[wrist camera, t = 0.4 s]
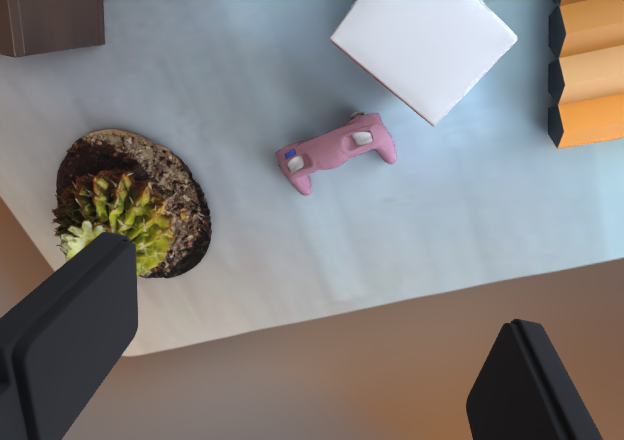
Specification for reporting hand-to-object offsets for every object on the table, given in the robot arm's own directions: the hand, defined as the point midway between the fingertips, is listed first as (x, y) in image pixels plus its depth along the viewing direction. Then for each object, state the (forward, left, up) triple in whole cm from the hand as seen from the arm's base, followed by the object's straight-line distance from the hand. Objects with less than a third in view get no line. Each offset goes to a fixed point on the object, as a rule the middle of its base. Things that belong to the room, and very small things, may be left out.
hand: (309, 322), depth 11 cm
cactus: (+16, -19, -30) cm, 39 cm away
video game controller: (+5, 0, -30) cm, 30 cm away
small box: (-6, +3, -30) cm, 31 cm away
